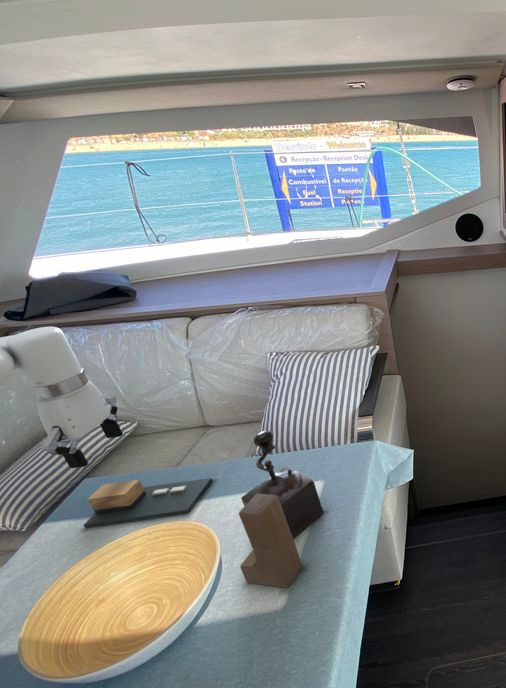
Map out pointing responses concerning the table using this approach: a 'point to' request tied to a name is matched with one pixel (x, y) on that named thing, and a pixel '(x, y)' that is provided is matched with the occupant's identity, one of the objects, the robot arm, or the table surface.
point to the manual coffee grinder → (287, 489)
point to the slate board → (156, 504)
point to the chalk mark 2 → (178, 489)
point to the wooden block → (269, 543)
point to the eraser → (117, 496)
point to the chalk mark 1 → (160, 491)
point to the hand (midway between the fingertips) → (98, 450)
